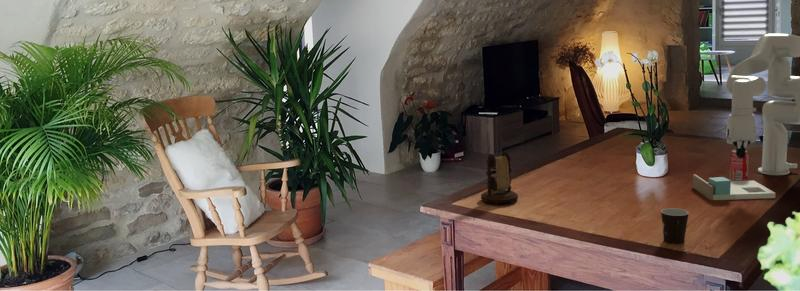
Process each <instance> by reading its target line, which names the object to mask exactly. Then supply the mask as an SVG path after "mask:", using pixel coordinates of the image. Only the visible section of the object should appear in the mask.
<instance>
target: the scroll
mask: <svg viewBox="0 0 800 291" xmlns="http://www.w3.org/2000/svg"><path fill="white" fill-rule="evenodd" d="M511 159H512V157H511V156H510V154H509V153H508V152H507V151H503V152H502V153H501V156H495V155H494V153H490V154H488V157H487V159H486V165H487V168H486V172H485V173H486V174H485V175H486V176H487V180H486V181H487V183H486V186H487V190H485V191H484V192H483V193H481V195H480V199H481V200H482V202H483V201H484V202H488V203H494V205H495V206H498V205H499V204H505V203H511V202H515V203H518V199H519V194H518V193H517V192H516V191H513V190H511V189H512V186H511V184H512V179H511V177H512V175H511V172H512V171H513V170H512V167H511V166H512V165H511ZM492 175H496V178H495V177H494V176H492ZM498 203H499V204H498Z"/></svg>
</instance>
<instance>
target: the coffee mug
mask: <svg viewBox="0 0 800 291" xmlns="http://www.w3.org/2000/svg"><path fill="white" fill-rule="evenodd" d="M660 212H661V213H660V214H661V223H662V225H661V226H662V234H663V235H662V236H663V242H665V243H667V244H672V245H680V244H683V243H684V242H685V238H686V232H687V227H688V226H687V225H688V221H689V220H688V219H689V215H690V214H689V213H690V212H689V211H688V210H686V209H683V208H674V207H672V208H671V207H669V208H663V209H661V211H660Z"/></svg>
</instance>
